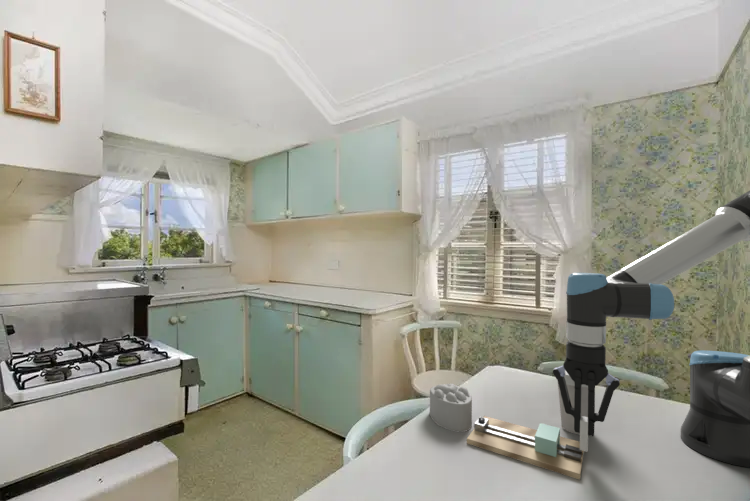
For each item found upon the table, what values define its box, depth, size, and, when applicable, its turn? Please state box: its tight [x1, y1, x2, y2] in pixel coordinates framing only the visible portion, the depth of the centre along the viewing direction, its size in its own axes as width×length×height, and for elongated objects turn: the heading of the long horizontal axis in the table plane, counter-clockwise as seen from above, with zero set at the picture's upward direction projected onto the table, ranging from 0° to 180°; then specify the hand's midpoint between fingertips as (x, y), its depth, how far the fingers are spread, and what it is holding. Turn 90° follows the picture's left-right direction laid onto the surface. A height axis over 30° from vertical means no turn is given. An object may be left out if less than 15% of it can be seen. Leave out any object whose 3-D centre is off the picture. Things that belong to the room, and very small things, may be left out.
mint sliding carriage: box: [535, 422, 561, 457], centre depth 82 cm, size 4×7×4 cm, turn 146°
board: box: [466, 415, 585, 480], centre depth 84 cm, size 24×14×1 cm, turn 56°
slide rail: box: [473, 416, 582, 462], centre depth 84 cm, size 24×4×2 cm, turn 56°
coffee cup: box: [554, 370, 588, 436], centre depth 93 cm, size 10×10×15 cm
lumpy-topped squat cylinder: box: [429, 383, 473, 432], centre depth 97 cm, size 10×13×9 cm
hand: (583, 447), depth 77 cm, fingers closed
